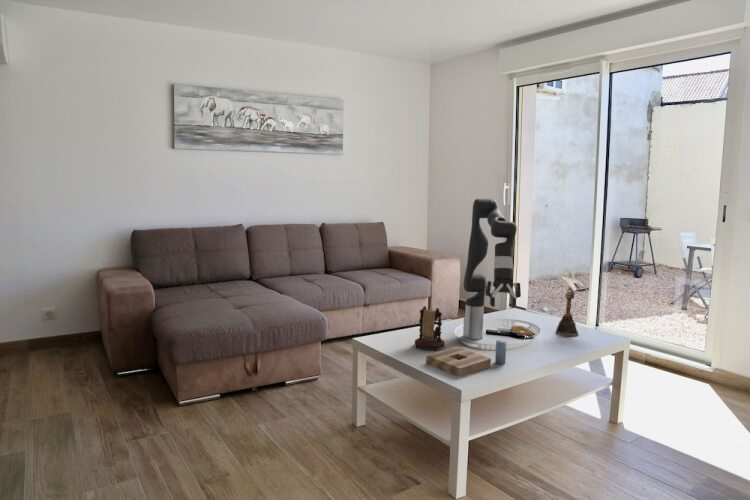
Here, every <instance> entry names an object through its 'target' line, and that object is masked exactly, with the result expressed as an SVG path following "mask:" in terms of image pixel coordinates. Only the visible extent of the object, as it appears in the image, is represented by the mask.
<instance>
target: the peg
mask: <svg viewBox="0 0 750 500" xmlns="http://www.w3.org/2000/svg"><path fill="white" fill-rule="evenodd" d="M506 353H507V341H506V340H503V339H498V340H496V342H495V359H494V361H495V362H494V363H495V364H497V365H501V366H502V365H506V359H507V358H506V356H507V354H506Z"/></svg>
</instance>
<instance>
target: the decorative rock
mask: <svg viewBox="0 0 750 500" xmlns="http://www.w3.org/2000/svg"><path fill="white" fill-rule="evenodd" d="M509 330H510V331H509V332H511V331H514V332H517V333H520V335H522V334H525V335H526V336H528V337H529V336H530V338H532V337H533V336H535V335H536V333H534V332H533V331H532V330H530V329H529V328H525V326H522V325H519V326H517V325H515V326H513V325H512V326H511V327H510V329H509ZM531 336H532V337H531Z"/></svg>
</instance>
